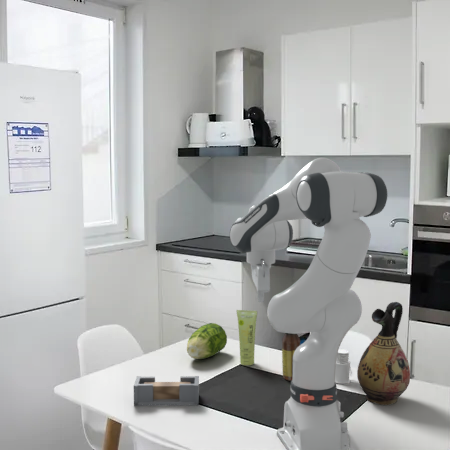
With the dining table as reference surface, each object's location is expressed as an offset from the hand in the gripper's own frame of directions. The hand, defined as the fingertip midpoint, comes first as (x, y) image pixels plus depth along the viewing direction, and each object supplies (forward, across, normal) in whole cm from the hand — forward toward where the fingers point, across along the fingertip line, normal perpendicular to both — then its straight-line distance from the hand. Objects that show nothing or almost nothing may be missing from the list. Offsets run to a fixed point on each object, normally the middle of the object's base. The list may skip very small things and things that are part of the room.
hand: (260, 301), depth 190 cm
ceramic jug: (+29, -8, -37) cm, 48 cm away
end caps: (+29, -7, +29) cm, 41 cm away
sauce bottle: (+29, +10, -12) cm, 33 cm away
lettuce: (+29, +33, +17) cm, 47 cm away
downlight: (+29, +8, -27) cm, 41 cm away
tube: (+29, +26, +2) cm, 39 cm away
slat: (+28, -7, +29) cm, 40 cm away
